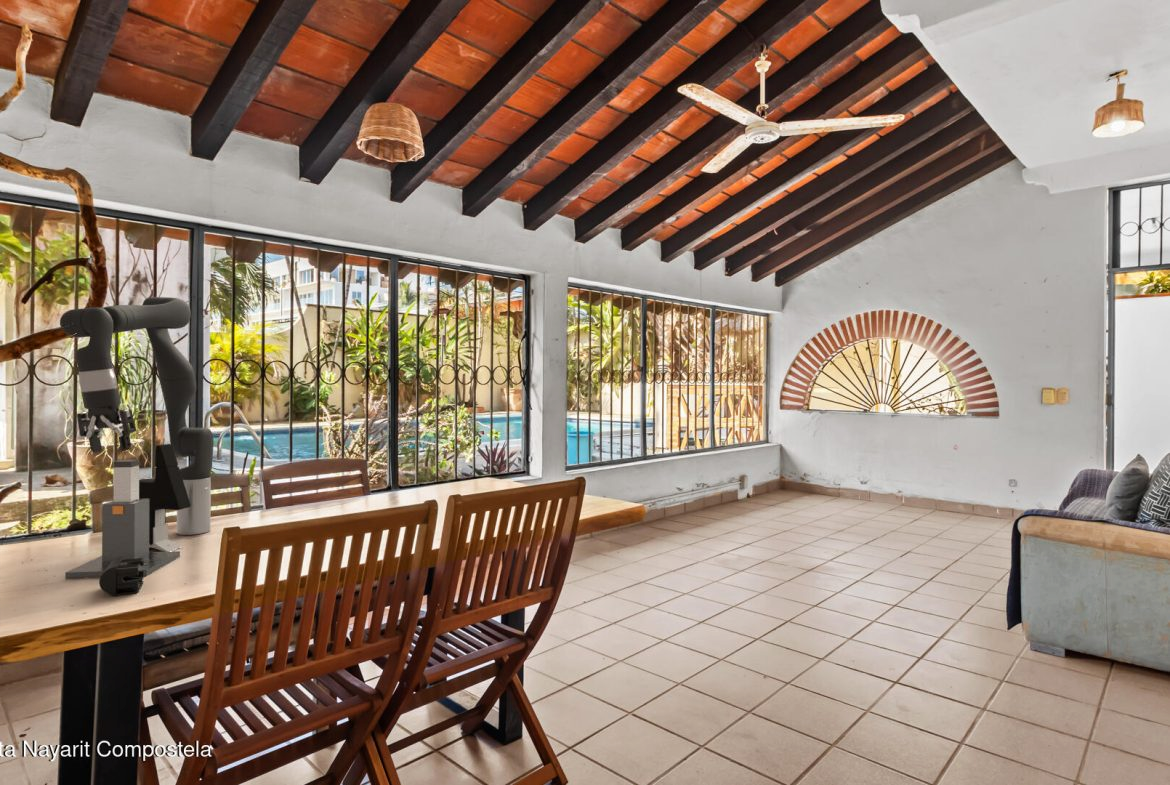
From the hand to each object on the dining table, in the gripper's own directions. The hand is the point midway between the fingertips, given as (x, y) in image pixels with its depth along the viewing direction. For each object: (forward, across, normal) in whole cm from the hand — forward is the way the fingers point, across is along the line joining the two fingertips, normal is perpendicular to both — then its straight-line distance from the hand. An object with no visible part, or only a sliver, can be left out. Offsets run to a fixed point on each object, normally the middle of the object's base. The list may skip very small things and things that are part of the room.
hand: (111, 451), depth 165 cm
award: (+32, +6, -15) cm, 36 cm away
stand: (+30, 0, +2) cm, 30 cm away
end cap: (+30, -14, +18) cm, 37 cm away
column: (+28, 0, +1) cm, 28 cm away
